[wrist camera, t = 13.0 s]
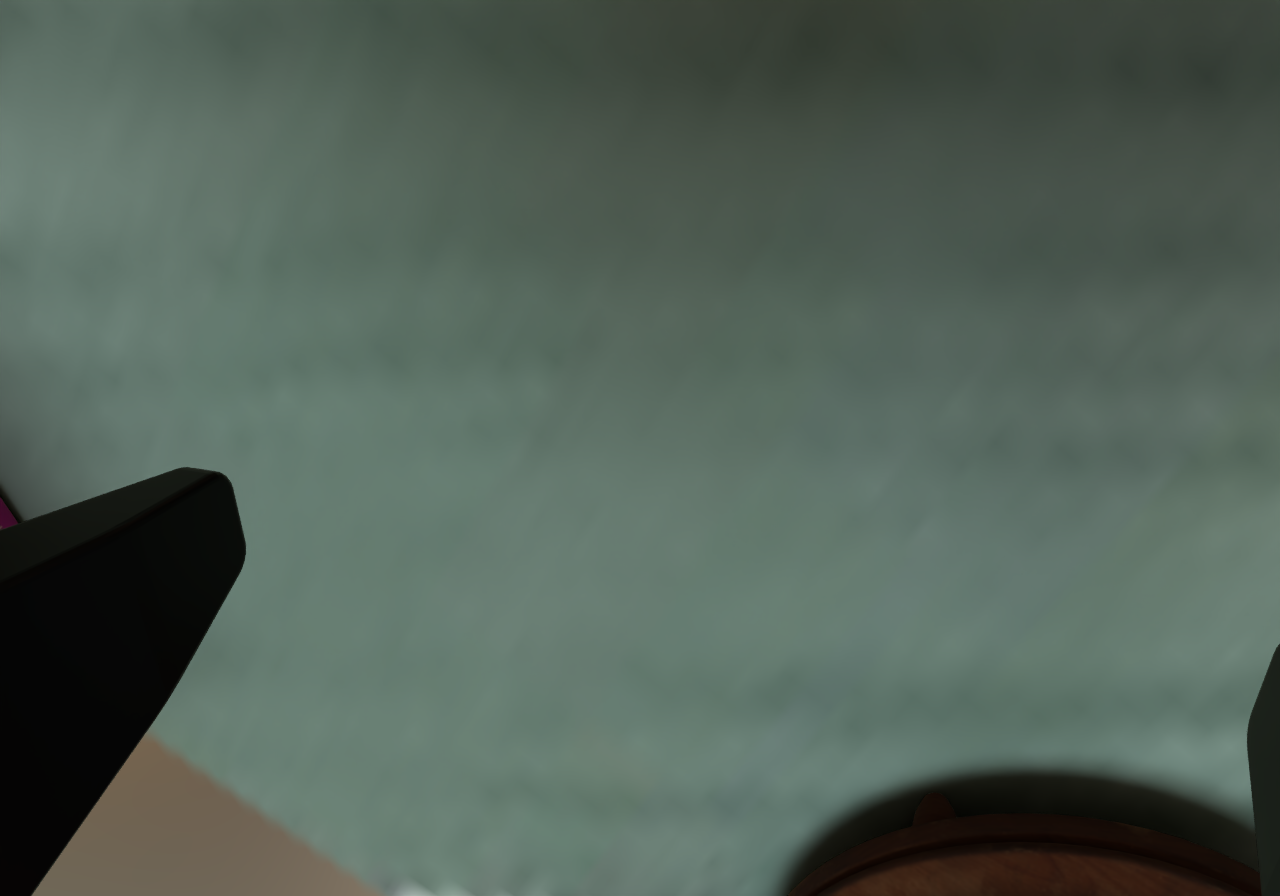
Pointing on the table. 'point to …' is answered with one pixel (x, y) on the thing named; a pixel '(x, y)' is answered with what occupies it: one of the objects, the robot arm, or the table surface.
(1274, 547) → the table surface
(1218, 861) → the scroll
